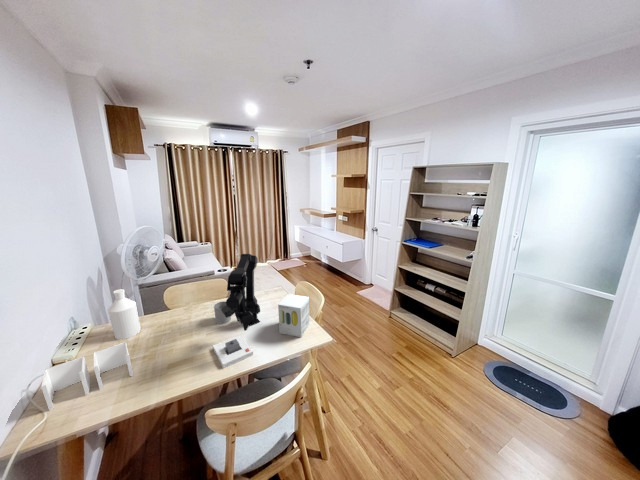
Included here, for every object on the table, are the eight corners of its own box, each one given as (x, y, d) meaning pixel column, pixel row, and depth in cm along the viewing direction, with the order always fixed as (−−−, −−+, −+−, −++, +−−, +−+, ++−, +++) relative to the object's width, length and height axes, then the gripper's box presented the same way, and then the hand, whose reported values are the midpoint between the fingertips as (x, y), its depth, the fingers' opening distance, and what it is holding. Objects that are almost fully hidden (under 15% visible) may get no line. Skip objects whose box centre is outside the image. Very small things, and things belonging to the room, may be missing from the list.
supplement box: (278, 333, 136) (277, 304, 132) (288, 320, 148) (287, 293, 144) (301, 337, 132) (300, 308, 128) (309, 324, 144) (309, 296, 140)
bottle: (141, 324, 144) (133, 284, 138) (141, 334, 135) (132, 292, 128) (115, 331, 138) (105, 289, 132) (113, 342, 129) (102, 298, 122)
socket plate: (213, 349, 124) (212, 344, 123) (241, 338, 132) (240, 334, 131) (223, 368, 111) (222, 363, 111) (253, 355, 120) (252, 350, 119)
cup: (233, 318, 150) (232, 303, 147) (222, 325, 143) (220, 310, 140) (224, 314, 154) (223, 300, 151) (212, 321, 147) (210, 305, 145)
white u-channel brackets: (130, 362, 115) (126, 341, 113) (133, 376, 108) (128, 354, 105) (53, 392, 100) (45, 369, 97) (49, 411, 92) (41, 386, 89)
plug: (226, 351, 122) (225, 341, 120) (236, 346, 125) (235, 337, 123) (229, 356, 118) (228, 346, 117) (239, 351, 121) (239, 341, 120)
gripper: (216, 294, 123) (219, 322, 127) (228, 311, 108) (231, 342, 112) (239, 288, 129) (241, 315, 133) (253, 303, 115) (255, 332, 119)
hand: (242, 325), depth 124 cm, fingers open, 9 cm apart
